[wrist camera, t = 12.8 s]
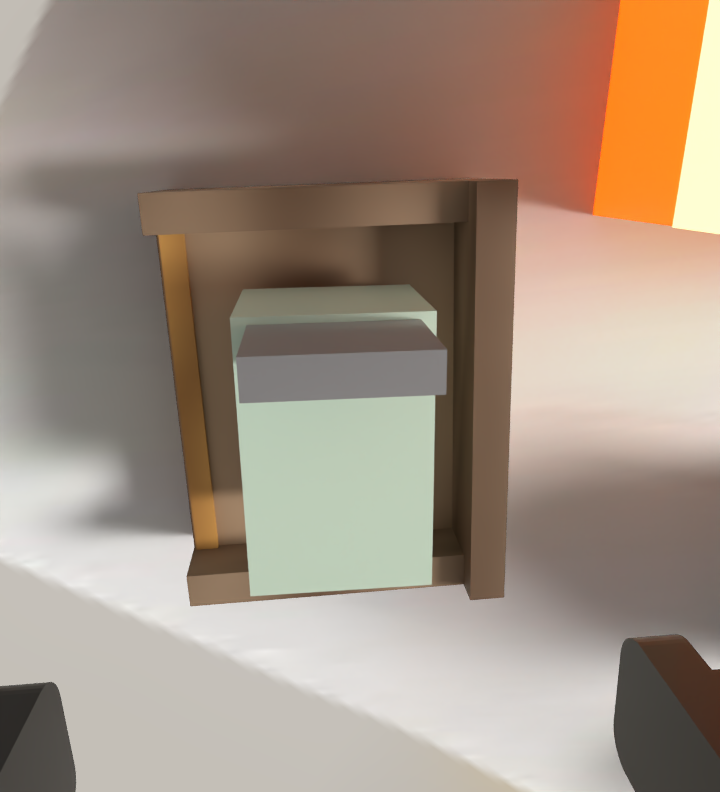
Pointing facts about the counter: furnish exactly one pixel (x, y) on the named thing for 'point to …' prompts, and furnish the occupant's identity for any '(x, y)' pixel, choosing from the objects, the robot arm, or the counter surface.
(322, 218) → the dock
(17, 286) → the counter surface
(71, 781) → the robot arm
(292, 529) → the light green boxy piece
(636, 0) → the orange juice
